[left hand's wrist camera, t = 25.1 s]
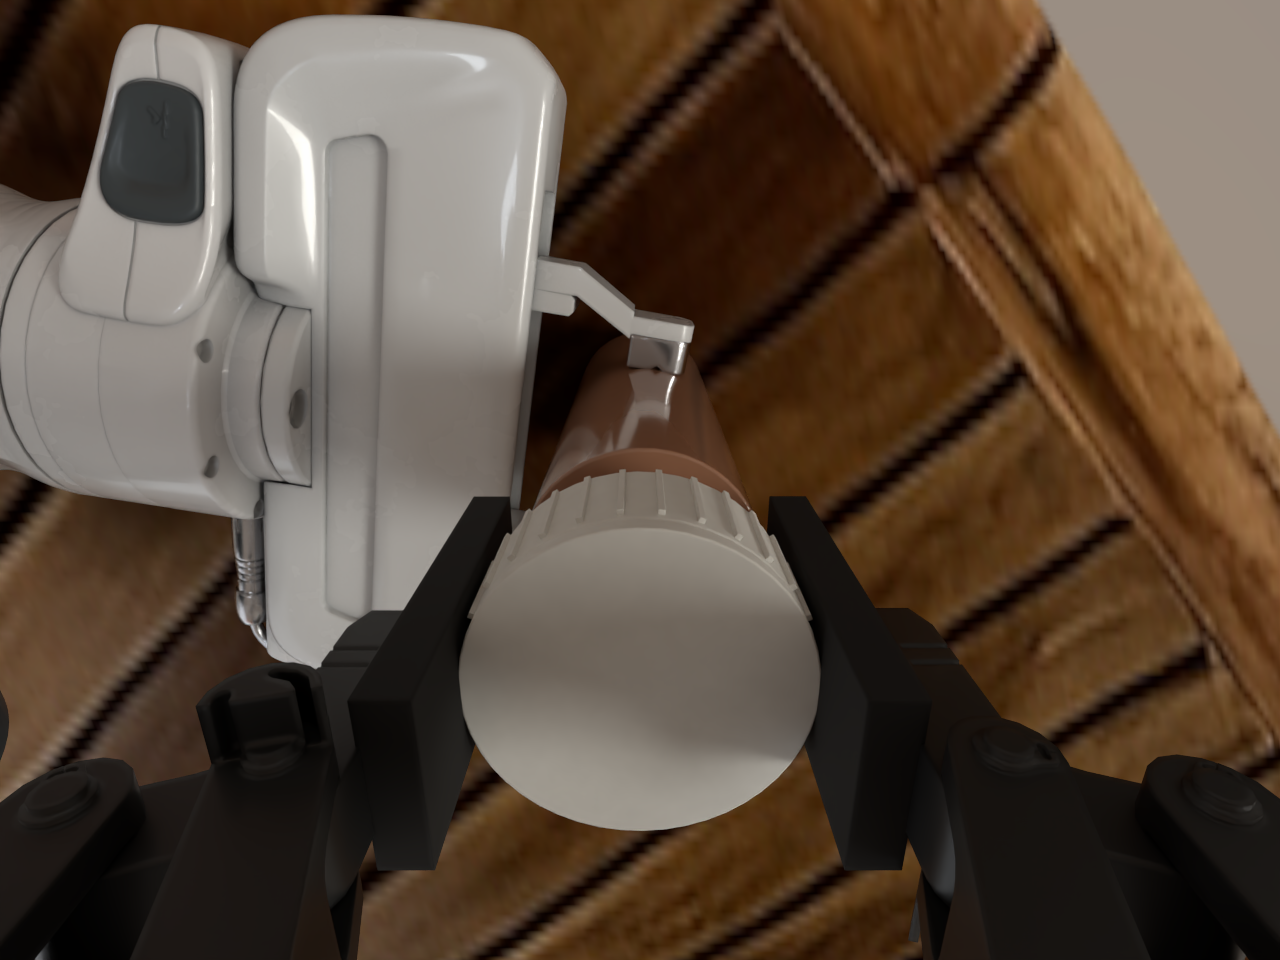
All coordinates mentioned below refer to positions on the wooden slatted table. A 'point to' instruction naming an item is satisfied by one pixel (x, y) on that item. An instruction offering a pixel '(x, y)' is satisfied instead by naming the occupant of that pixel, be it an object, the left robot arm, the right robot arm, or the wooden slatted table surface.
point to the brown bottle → (641, 427)
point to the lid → (639, 654)
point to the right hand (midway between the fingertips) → (670, 443)
